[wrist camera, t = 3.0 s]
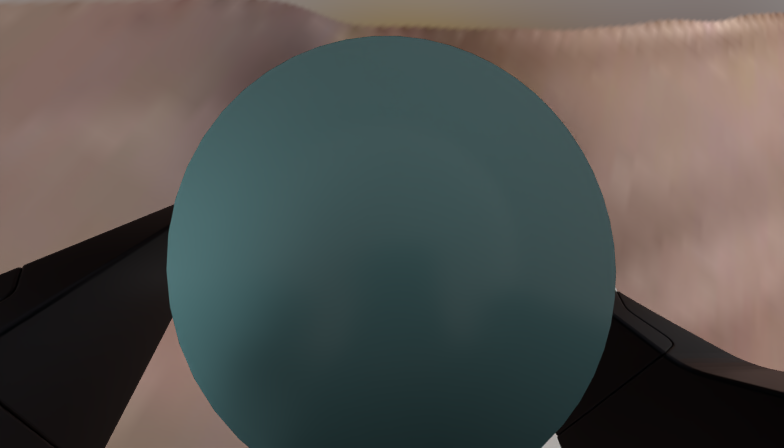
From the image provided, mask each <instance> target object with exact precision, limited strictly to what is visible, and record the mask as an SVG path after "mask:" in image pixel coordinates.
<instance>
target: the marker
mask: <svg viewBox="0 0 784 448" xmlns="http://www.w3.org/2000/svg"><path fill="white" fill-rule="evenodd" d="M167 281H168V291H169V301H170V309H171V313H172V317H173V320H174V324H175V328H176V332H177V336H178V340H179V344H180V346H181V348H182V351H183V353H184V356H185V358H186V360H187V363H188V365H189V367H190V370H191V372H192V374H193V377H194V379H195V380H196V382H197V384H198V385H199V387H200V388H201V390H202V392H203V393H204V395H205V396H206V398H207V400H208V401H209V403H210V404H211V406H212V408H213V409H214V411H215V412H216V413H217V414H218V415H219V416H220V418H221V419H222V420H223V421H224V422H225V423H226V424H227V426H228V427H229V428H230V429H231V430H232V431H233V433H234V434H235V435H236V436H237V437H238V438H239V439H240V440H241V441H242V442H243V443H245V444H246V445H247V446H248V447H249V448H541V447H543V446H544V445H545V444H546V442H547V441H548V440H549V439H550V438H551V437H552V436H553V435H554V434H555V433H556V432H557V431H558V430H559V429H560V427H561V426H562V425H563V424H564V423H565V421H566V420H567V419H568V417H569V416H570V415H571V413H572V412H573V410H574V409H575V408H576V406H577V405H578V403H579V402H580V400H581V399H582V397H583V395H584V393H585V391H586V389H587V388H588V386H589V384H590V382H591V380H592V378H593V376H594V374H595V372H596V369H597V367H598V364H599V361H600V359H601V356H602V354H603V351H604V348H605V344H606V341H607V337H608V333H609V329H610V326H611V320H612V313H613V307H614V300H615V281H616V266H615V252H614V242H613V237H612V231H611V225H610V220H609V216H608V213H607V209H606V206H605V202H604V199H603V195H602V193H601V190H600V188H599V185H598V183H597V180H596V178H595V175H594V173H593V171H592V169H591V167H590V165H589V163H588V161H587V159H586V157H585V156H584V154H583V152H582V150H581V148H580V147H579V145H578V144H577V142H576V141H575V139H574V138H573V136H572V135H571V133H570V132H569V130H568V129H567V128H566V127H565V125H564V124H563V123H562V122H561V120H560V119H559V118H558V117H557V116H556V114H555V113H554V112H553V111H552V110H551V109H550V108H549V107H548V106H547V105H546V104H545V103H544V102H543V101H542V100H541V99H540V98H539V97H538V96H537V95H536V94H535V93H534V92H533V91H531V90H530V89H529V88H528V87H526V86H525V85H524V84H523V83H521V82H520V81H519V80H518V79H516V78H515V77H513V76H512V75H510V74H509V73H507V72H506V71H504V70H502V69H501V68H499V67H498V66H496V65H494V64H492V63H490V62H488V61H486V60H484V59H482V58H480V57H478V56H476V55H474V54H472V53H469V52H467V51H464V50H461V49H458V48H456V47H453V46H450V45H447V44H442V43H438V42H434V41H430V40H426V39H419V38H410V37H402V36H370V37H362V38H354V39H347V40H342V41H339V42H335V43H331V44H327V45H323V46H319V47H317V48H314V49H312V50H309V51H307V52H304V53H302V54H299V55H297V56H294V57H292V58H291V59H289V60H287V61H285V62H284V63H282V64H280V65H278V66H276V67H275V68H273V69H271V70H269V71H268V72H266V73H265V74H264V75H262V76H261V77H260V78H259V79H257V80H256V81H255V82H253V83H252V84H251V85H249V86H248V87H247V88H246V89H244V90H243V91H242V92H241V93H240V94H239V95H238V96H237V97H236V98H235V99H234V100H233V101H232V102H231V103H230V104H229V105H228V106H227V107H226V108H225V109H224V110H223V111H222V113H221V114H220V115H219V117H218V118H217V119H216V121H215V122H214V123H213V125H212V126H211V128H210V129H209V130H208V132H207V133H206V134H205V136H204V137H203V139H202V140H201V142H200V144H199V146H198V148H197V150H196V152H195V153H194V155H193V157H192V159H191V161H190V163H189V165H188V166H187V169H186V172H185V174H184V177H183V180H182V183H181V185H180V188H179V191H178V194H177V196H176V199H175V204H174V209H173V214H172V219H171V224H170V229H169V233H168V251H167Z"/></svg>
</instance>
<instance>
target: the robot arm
mask: <svg viewBox="0 0 784 448" xmlns="http://www.w3.org/2000/svg"><path fill="white" fill-rule="evenodd" d="M173 209H174V205H172V206H169V207H167V208H164V209H162V210H159V211H157V212H154V213H152V214H149V215H147V216H144V217H142V218H139V219H137V220H134V221H132V222H130V223H127V224H125V225H122V226H120V227H117V228H115V229H112V230H110V231H107V232H105V233H102V234H100V235H97V236H95V237H92V238H90V239H87V240H85V241H83V242H80V243H78V244H75V245H73V246H70V247H68V248H65V249H63V250H60V251H58V252H55V253H53V254H50V255H48V256H45V257H43V258H41V259H38V260H36V261H33V262H31V263H28V264H26V265H24V266H23V268H16V269H13V270H11V271H8V272H6V273H3V274H1V275H0V448H105V447H106V445H107V443H108V441H109V439H110V437H111V435H112V433H113V431H114V429H115V427H116V425H117V424H118V422H119V420H120V418H121V416H122V414H123V412H124V410H125V408H126V406H127V404H128V402H129V400H130V398H131V396H132V395H133V393H134V391H135V389H136V387H137V385H138V383H139V381H140V379H141V377H142V375H143V373H144V371H145V369H146V368H147V366H148V364H149V362H150V360H151V358H152V356H153V354H154V352H155V350H156V348H157V346H158V344H159V342H160V341H161V339H162V337H163V335H164V333H165V331H166V329H167V327H168V325H169V323H170V321H171V319H172V313H171V309H170V301H169V291H168V281H167V251H168V233H169V229H170V224H171V219H172V214H173ZM556 435H557V439H558V441H559V444H560V446H561V448H784V372H783V371H777V370H773V369H769V368H765V367H761V366H758V365H755V364H752V363H749V362H747V361H744V360H742V359H740V358H737V357H735V356H733V355H731V354H729V353H727V352H725V351H724V350H722V349H720V348H718V347H716V346H714V345H713V344H711V343H709V342H707V341H705V340H703V339H702V338H700V337H698V336H696V335H694V334H692V333H691V332H689V331H687V330H685V329H683V328H681V327H680V326H678V325H676V324H674V323H672V322H671V321H669V320H667V319H665V318H663V317H662V316H660V315H658V314H656V313H654V312H653V311H651V310H649V309H647V308H646V307H644V306H642V305H641V304H639V303H637V302H635V301H634V300H632V299H630V298H629V297H627V296H625V295H624V294H622V293H620V292H618V291H616V290H615V300H614V307H613V313H612V320H611V326H610V329H609V333H608V337H607V341H606V344H605V348H604V351H603V354H602V356H601V359H600V361H599V364H598V367H597V369H596V372H595V374H594V376H593V378H592V380H591V382H590V384H589V386H588V388H587V389H586V391H585V393H584V395H583V397H582V399H581V400H580V402H579V403H578V405H577V406H576V408H575V409H574V410H573V412H572V413H571V415H570V416H569V417H568V419H567V420H566V421H565V423H564V424H563V425H562V426H561V427H560V429H559V430H558V431H557V432H556Z"/></svg>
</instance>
